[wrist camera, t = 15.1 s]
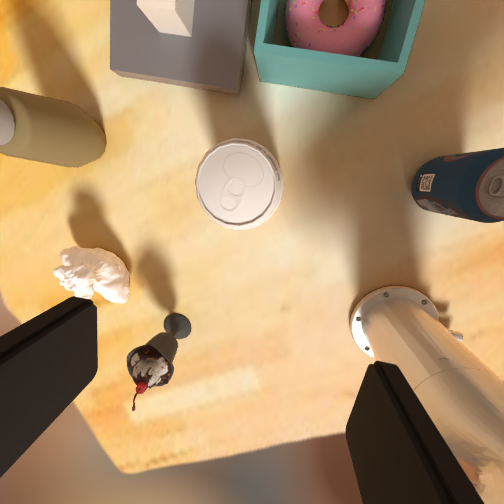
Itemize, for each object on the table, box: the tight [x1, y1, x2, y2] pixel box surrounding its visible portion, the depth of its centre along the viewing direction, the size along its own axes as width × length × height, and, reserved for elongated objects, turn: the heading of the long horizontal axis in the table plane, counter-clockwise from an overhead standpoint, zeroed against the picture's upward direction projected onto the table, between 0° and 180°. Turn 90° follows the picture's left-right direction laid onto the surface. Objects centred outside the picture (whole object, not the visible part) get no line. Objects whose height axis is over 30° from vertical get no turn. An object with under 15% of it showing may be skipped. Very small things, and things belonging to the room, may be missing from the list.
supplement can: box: [195, 138, 283, 230], centre depth 29 cm, size 8×8×15 cm
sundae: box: [127, 314, 191, 411], centre depth 37 cm, size 7×7×15 cm
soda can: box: [412, 148, 504, 223], centre depth 28 cm, size 7×7×12 cm
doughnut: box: [284, 0, 387, 57], centre depth 28 cm, size 11×11×4 cm
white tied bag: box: [53, 246, 129, 303], centre depth 38 cm, size 12×8×11 cm
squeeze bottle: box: [0, 87, 106, 167], centre depth 28 cm, size 8×8×18 cm
